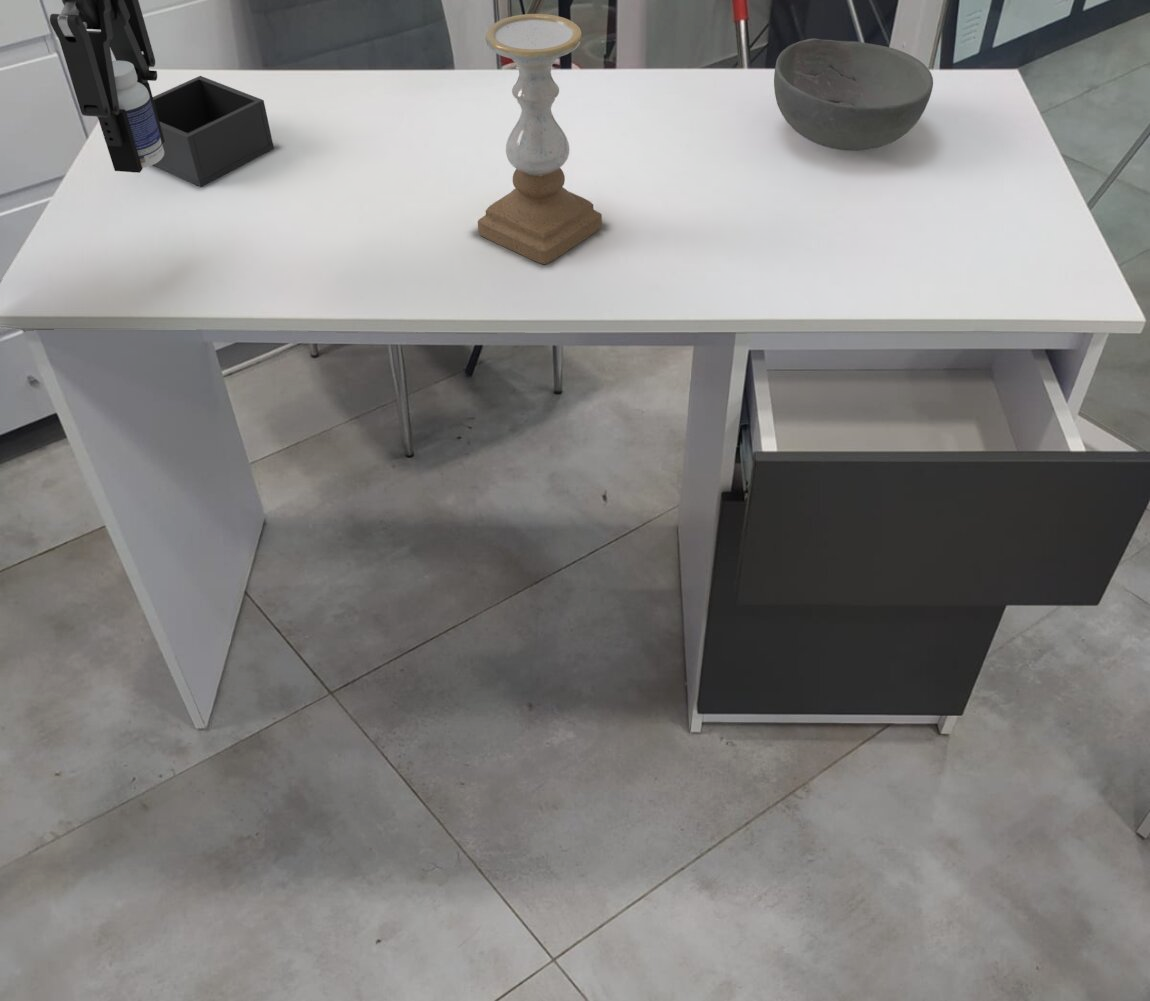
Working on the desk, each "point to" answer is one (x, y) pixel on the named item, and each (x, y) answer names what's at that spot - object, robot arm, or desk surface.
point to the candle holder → (537, 146)
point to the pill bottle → (138, 113)
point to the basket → (210, 129)
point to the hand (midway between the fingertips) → (140, 155)
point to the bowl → (850, 92)
